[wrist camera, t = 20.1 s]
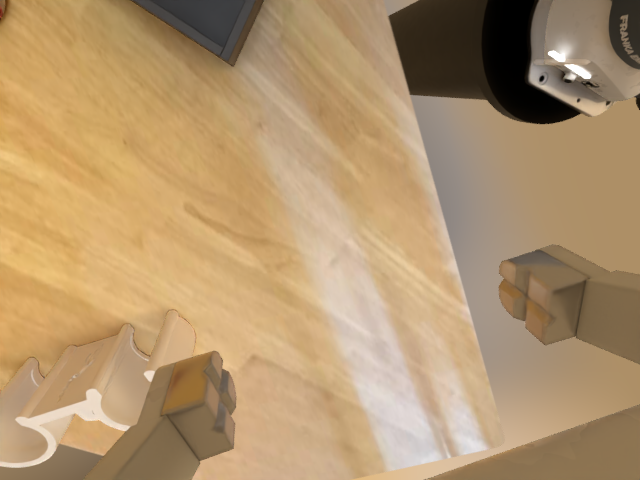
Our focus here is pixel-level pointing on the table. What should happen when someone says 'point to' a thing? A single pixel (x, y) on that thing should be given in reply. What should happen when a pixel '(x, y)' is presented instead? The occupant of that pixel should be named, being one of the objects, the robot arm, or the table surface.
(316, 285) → the table surface
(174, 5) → the bin
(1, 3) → the soda can
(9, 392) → the bracket
